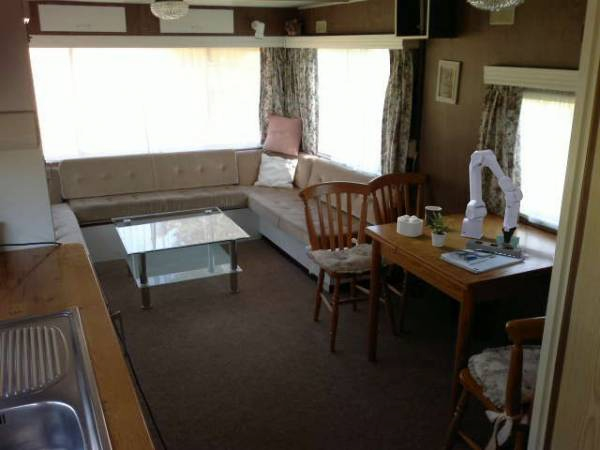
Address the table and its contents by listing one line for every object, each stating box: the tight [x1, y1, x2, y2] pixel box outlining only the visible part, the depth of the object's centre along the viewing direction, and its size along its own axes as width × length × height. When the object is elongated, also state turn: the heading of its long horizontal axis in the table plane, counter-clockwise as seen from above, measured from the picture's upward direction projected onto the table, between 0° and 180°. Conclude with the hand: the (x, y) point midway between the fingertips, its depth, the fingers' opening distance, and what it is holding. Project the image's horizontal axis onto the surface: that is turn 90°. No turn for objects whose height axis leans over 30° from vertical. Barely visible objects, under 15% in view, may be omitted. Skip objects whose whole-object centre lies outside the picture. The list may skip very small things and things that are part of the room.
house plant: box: [427, 212, 454, 248], centre depth 264 cm, size 14×14×16 cm
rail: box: [465, 238, 523, 259], centre depth 258 cm, size 24×6×3 cm, turn 59°
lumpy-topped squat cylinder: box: [396, 214, 424, 238], centre depth 283 cm, size 10×13×9 cm
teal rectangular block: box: [495, 233, 521, 248], centre depth 265 cm, size 10×3×5 cm, turn 59°
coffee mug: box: [424, 205, 442, 229], centre depth 295 cm, size 12×9×10 cm
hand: (507, 242), depth 265 cm, fingers closed on teal rectangular block, 3 cm apart
